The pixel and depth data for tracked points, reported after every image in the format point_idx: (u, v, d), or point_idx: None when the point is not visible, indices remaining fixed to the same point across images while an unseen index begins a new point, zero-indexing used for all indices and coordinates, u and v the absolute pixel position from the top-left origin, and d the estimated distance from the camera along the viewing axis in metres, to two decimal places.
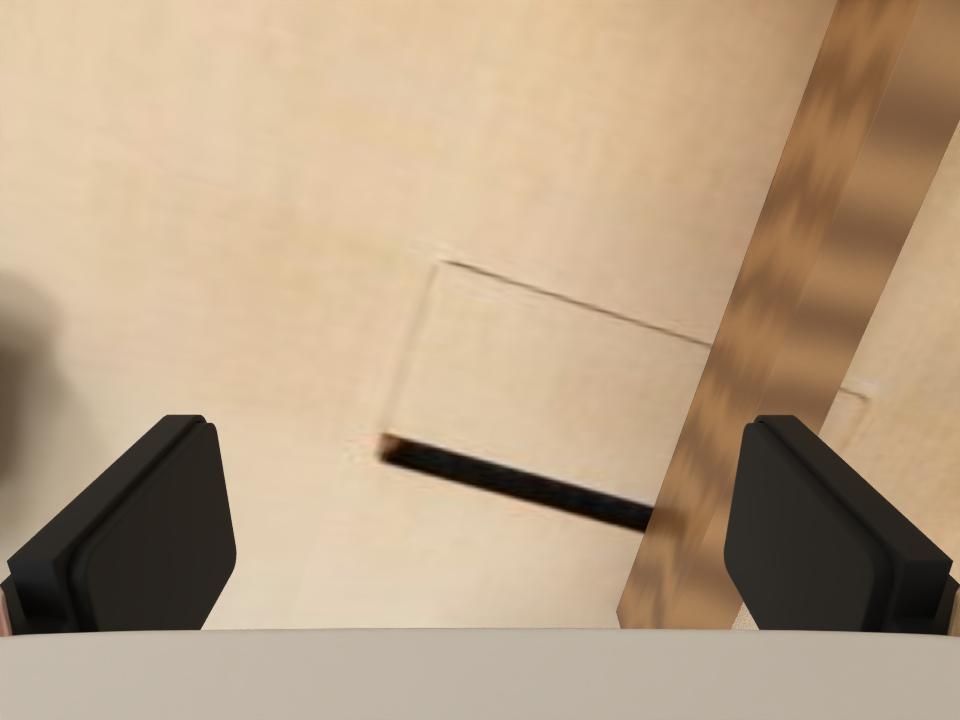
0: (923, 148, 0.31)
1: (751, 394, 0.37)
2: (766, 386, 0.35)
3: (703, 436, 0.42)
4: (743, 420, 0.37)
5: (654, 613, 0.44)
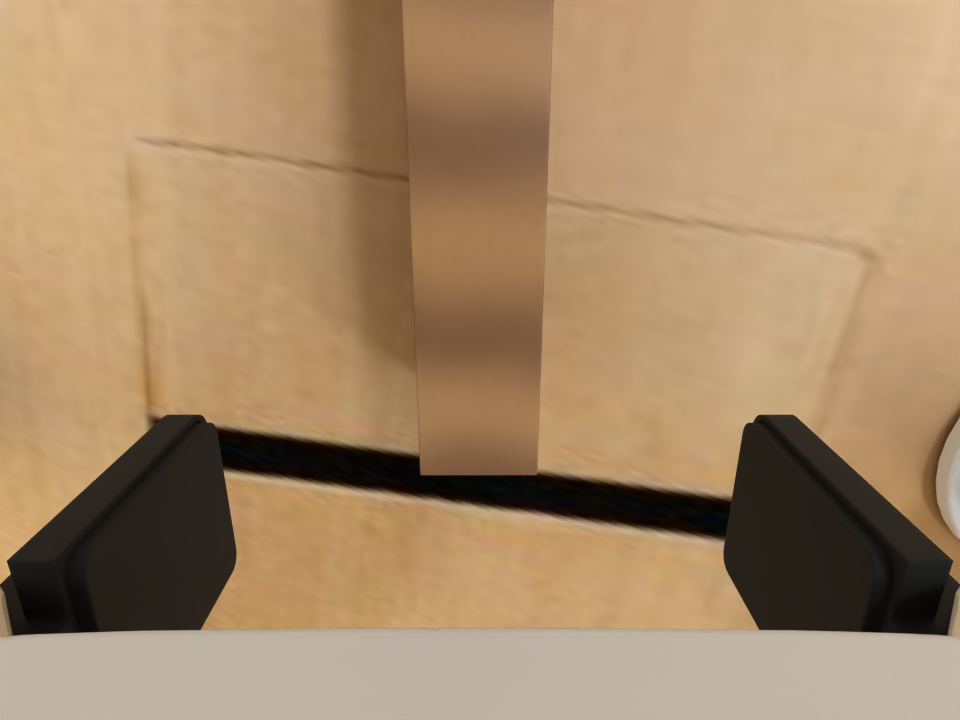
0: None
1: None
2: None
3: None
4: None
5: None
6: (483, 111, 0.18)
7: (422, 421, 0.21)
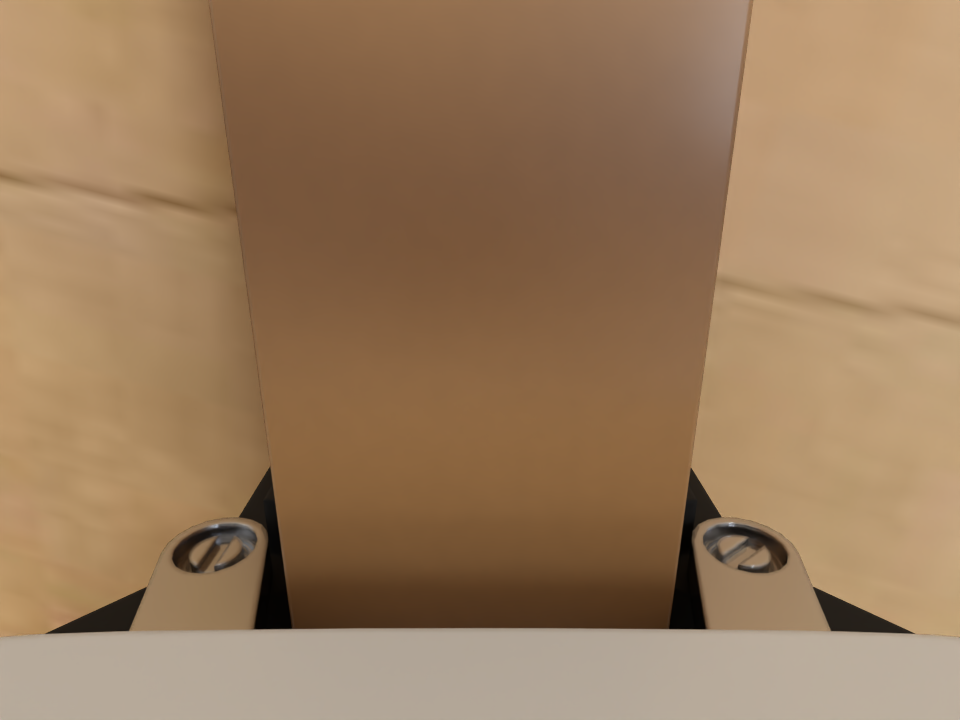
0: None
1: None
2: None
3: None
4: None
5: None
6: (502, 64, 0.05)
7: None
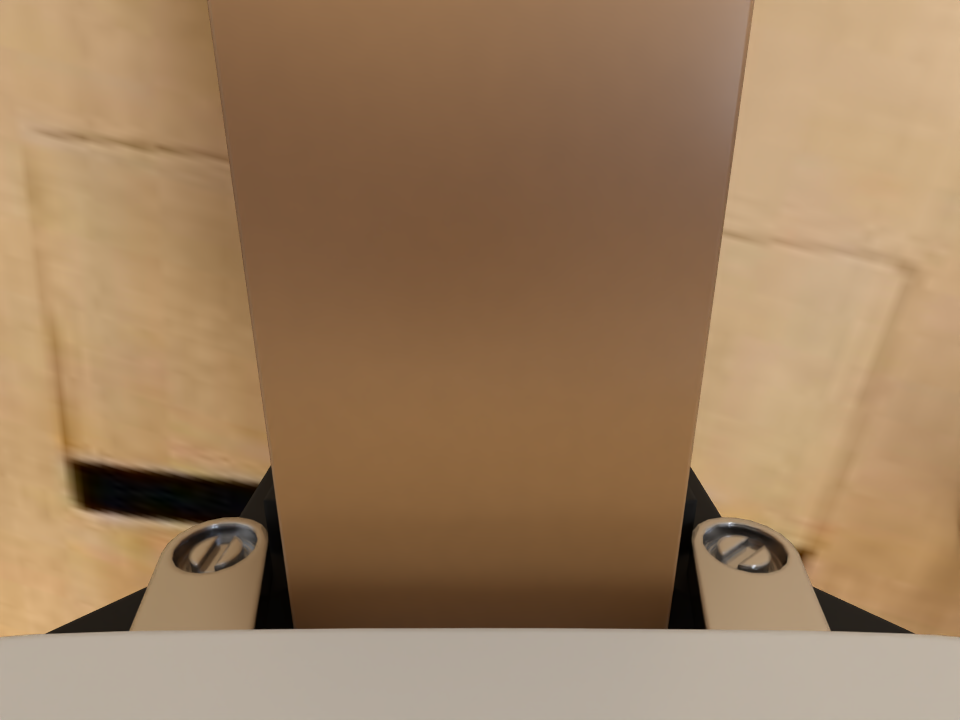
0: None
1: None
2: None
3: None
4: None
5: None
6: (502, 69, 0.05)
7: None
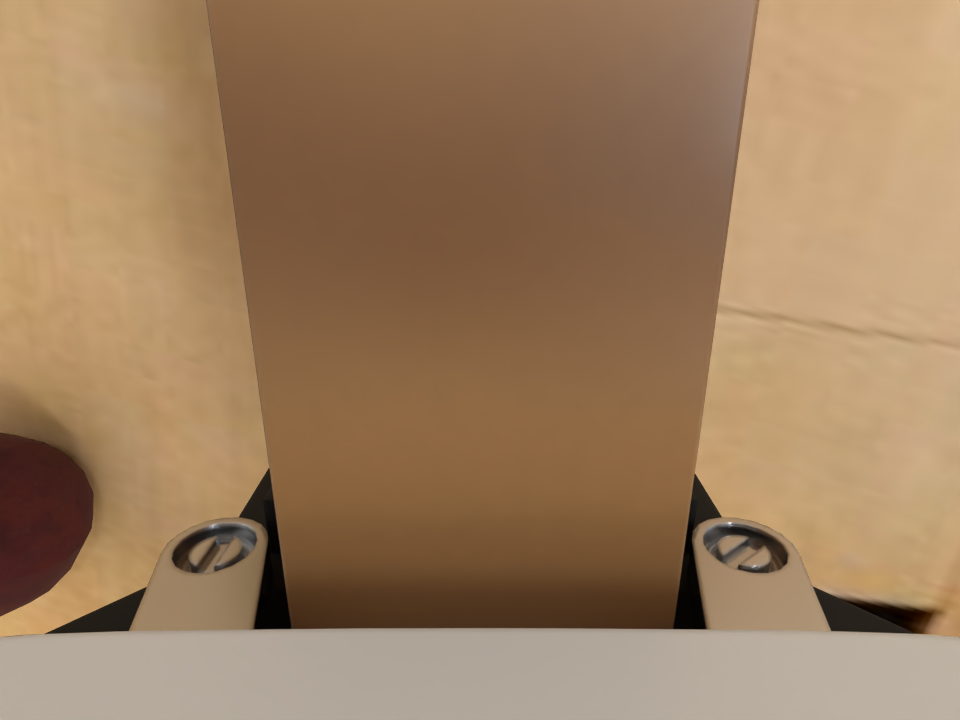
0: None
1: None
2: None
3: None
4: None
5: None
6: (503, 62, 0.05)
7: None
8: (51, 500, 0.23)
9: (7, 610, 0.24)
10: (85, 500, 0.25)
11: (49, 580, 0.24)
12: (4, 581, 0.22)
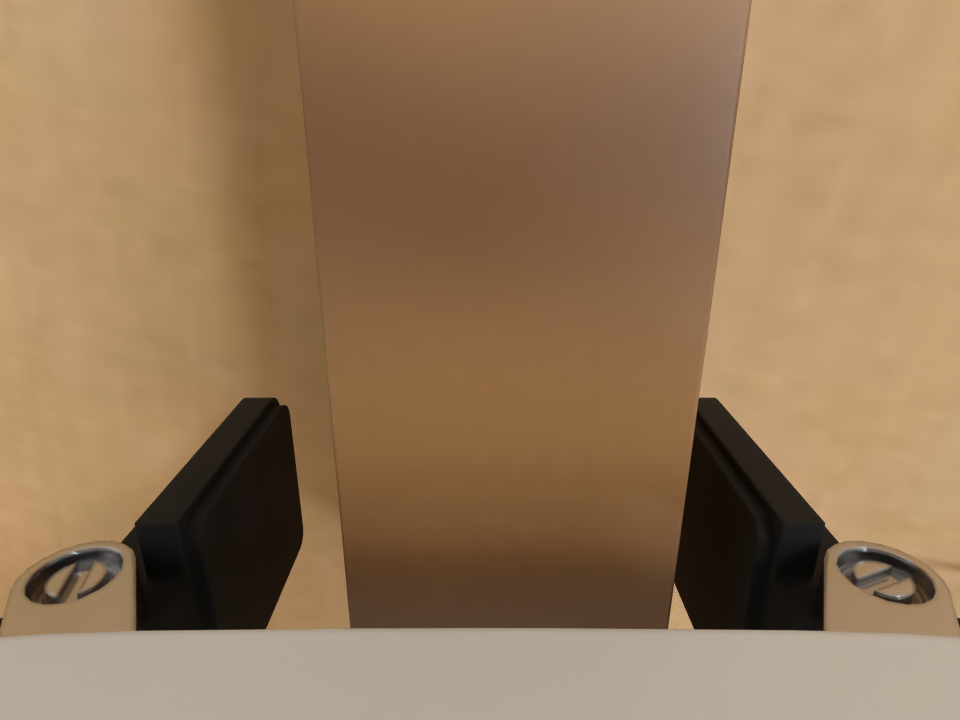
0: None
1: None
2: None
3: None
4: None
5: None
6: (538, 64, 0.06)
7: None
8: None
9: None
10: None
11: None
12: None
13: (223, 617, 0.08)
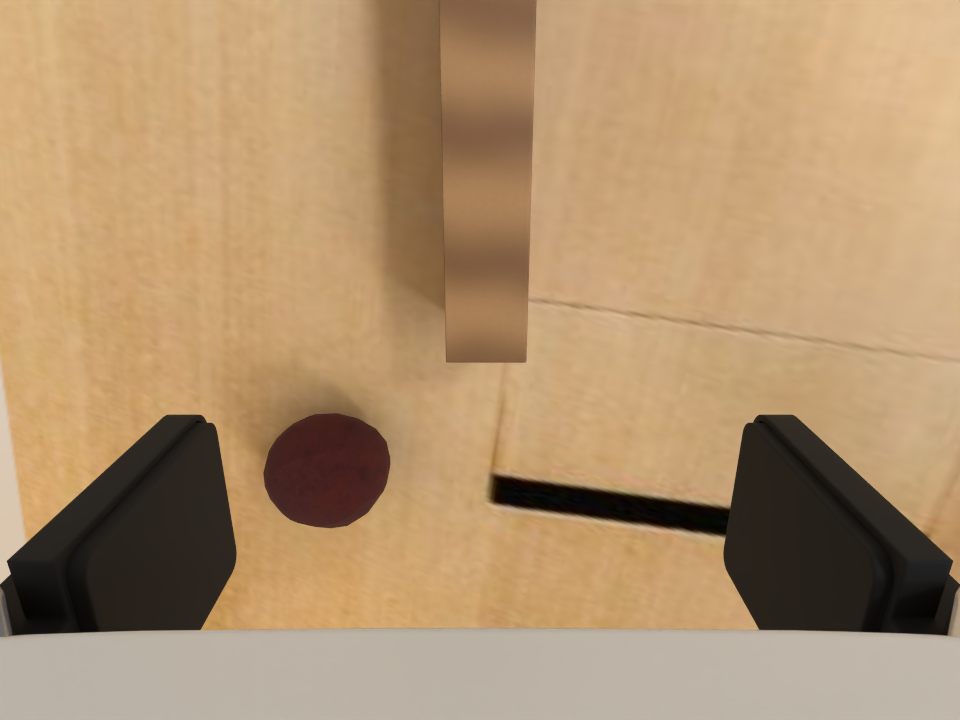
0: None
1: None
2: None
3: None
4: None
5: None
6: (490, 113, 0.28)
7: (448, 322, 0.31)
8: (381, 454, 0.39)
9: (353, 521, 0.39)
10: None
11: (373, 504, 0.39)
12: (362, 501, 0.38)
13: None
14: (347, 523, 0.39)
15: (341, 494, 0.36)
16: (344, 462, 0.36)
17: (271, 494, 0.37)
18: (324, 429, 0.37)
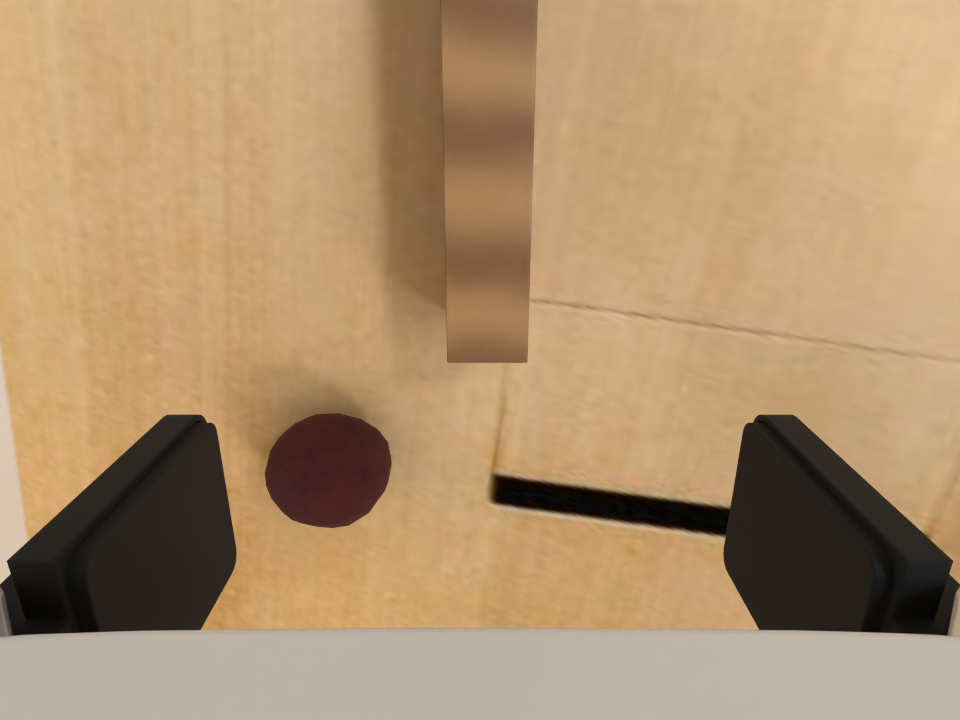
0: None
1: None
2: None
3: None
4: None
5: None
6: (492, 113, 0.28)
7: (449, 323, 0.31)
8: (383, 454, 0.39)
9: (354, 521, 0.39)
10: (390, 455, 0.40)
11: (374, 504, 0.39)
12: (363, 501, 0.38)
13: None
14: (348, 523, 0.39)
15: (342, 494, 0.37)
16: (345, 462, 0.36)
17: (272, 494, 0.37)
18: (325, 429, 0.37)
